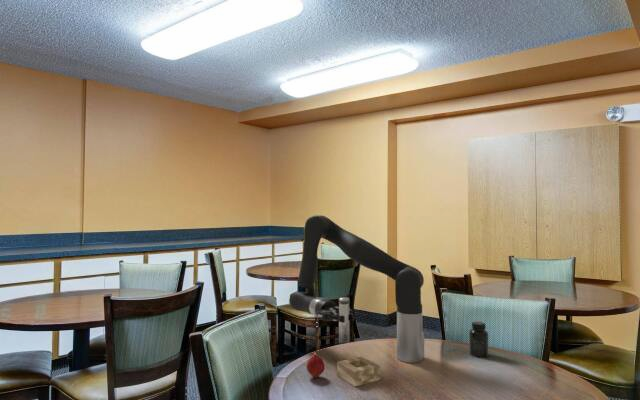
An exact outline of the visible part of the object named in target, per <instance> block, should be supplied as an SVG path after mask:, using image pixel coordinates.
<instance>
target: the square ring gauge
mask: <svg viewBox="0 0 640 400" xmlns="http://www.w3.org/2000/svg"><path fill="white" fill-rule="evenodd" d="M336 375H337V376H338V377H339V378H341V379H342V380H344V381H345V382H347V383H348V384H350V385H352V386H354V387H357V386H362V385H365V384H370V383H373V382H374V383H375V382H377V381H381V365H380V364H377V363H376V362H373V361H371V360H369V359H367V358H366V357H363V356H358V357H353V358H348V359H345V360H340V361H339V360H338V361H337V362H336Z"/></svg>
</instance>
